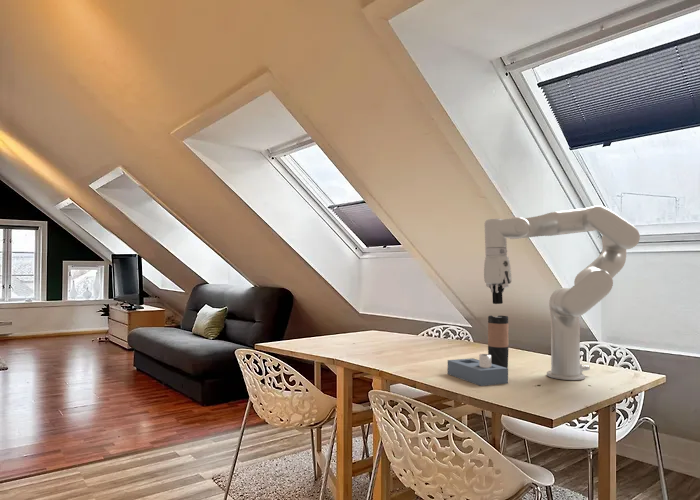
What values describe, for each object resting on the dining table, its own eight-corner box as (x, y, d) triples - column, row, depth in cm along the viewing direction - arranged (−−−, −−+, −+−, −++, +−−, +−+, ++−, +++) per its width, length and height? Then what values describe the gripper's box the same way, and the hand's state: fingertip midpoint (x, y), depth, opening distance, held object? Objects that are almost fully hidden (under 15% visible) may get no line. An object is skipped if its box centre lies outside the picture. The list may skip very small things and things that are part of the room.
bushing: (486, 379, 183) (486, 353, 183) (493, 382, 179) (493, 355, 179) (477, 380, 181) (477, 354, 182) (484, 383, 178) (484, 356, 178)
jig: (472, 371, 196) (472, 358, 196) (508, 383, 178) (508, 368, 178) (447, 373, 192) (447, 360, 192) (480, 385, 174) (480, 370, 174)
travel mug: (502, 371, 198) (502, 317, 198) (484, 368, 203) (484, 316, 203) (512, 368, 203) (511, 316, 204) (493, 365, 208) (493, 314, 209)
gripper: (518, 252, 186) (520, 304, 186) (490, 253, 200) (492, 302, 199) (501, 252, 183) (503, 305, 182) (474, 253, 197) (476, 303, 196)
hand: (497, 303), depth 191 cm, fingers closed
